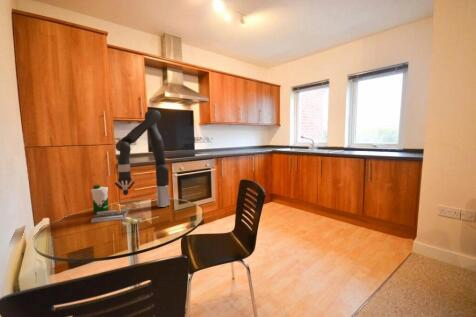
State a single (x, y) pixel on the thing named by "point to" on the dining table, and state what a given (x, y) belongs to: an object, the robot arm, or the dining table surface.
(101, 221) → the panel
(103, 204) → the milk carton
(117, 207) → the breaker lever
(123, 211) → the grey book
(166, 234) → the dining table surface
